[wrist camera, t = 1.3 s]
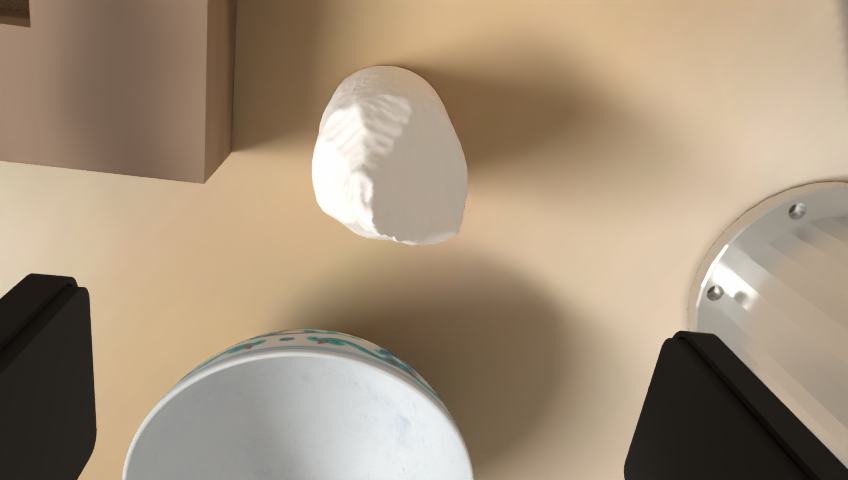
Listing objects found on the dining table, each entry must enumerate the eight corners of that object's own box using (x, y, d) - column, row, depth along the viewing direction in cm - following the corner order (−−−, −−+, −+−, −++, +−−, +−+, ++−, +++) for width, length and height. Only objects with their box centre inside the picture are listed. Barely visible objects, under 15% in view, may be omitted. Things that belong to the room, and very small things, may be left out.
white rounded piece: (532, 219, 19) (398, 339, 20) (475, 131, 30) (390, 212, 31) (387, 70, 17) (249, 212, 18) (383, 35, 28) (297, 125, 29)
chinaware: (405, 526, 39) (411, 649, 32) (151, 472, 36) (95, 593, 29) (495, 315, 34) (527, 404, 27) (208, 234, 31) (158, 309, 24)
